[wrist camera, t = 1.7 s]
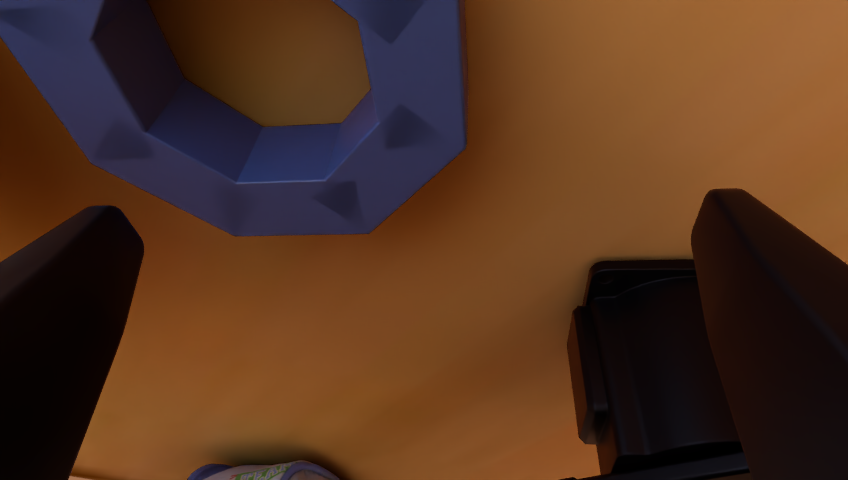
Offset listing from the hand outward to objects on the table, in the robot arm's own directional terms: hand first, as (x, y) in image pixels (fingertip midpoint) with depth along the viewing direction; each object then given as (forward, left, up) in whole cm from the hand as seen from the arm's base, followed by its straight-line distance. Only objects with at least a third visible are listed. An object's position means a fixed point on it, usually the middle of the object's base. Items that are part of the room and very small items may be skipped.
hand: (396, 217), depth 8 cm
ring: (+4, 0, -7) cm, 8 cm away
